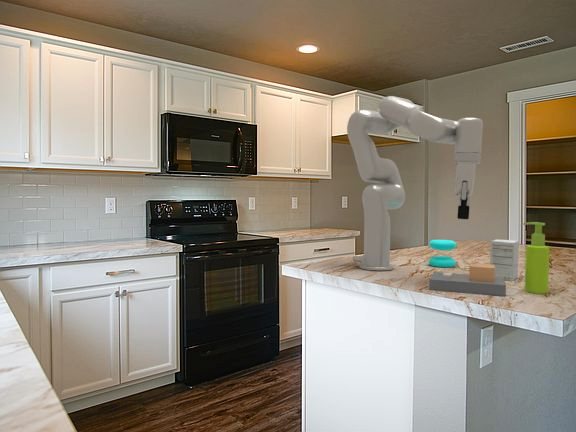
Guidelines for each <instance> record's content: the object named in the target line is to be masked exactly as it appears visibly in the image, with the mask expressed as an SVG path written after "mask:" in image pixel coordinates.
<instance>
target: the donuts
mask: <svg viewBox="0 0 576 432" xmlns="http://www.w3.org/2000/svg"><path fill="white" fill-rule="evenodd" d="M428 244H429V247H430V248H431V249H433V250H436V251H452V250H454V249H456V247H457V243H456V241H454V240H452V239H451V240H450V239H431V240H430V241H429V243H428ZM456 263H457V262H456V260H455V259H454V258H453V257H450V256H445V255H444V256H443V255H435V256H432V257H430V258H429V259H428V264H429V265H430V266H432V267H434V268H435V267H436V268H454V267H455V266H456Z"/></svg>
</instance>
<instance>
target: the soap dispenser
mask: <svg viewBox="0 0 576 432" xmlns="http://www.w3.org/2000/svg"><path fill="white" fill-rule="evenodd" d="M522 225H524V226H526V225H534V232H533V233H531V239H530V242H531V243H530V244H527V245H526V246H525V270H524V271H525V273H524V292H527V293H532V294H538V295H541V294H542V295H544V294H546V295H547V294H549V278H550V277H549V275H550V274H549V273H550V250H551V249H550V246H549V245H546V234H545V233H543V226H545V225H546V223H545V222H539V221H529V222H523V223H522Z"/></svg>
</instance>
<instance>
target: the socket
mask: <svg viewBox="0 0 576 432" xmlns="http://www.w3.org/2000/svg"><path fill="white" fill-rule="evenodd" d="M428 286H429V287H428V290H431V291H443V292H444V291H445V292H453V293H454V292H455V293H465V294H477V295H488V296H489V295H490V296H499V297H506V296H507V295H506V294H507V284H506V280H504V278H503V277H497V276H495V277H494V282H486V281H474V280H469V273H467V274H465V273H454V272H453V273H451V272H440V271H433V273H432V274H431V276H430V277H429V285H428Z"/></svg>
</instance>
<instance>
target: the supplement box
mask: <svg viewBox="0 0 576 432" xmlns="http://www.w3.org/2000/svg"><path fill="white" fill-rule="evenodd" d="M519 246H520V241H519V240H514V239H513V240H511V239H499V238H498V239H494V240H491V241H490V258H489V259H490V260H489V265H494V266H495V276H497V277H503V278H504V281H511V282H512V281H514V280H516V279H517V278H519V250H520V248H519Z"/></svg>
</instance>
